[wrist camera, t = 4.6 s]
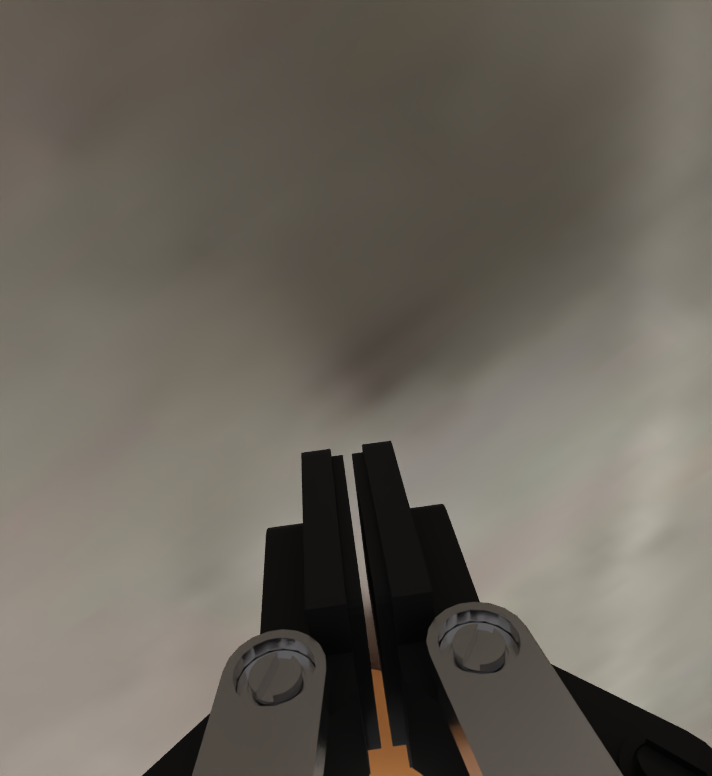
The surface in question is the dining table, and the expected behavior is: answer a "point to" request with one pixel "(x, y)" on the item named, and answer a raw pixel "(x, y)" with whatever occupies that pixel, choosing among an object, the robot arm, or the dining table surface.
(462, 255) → the dining table surface
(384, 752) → the ball
